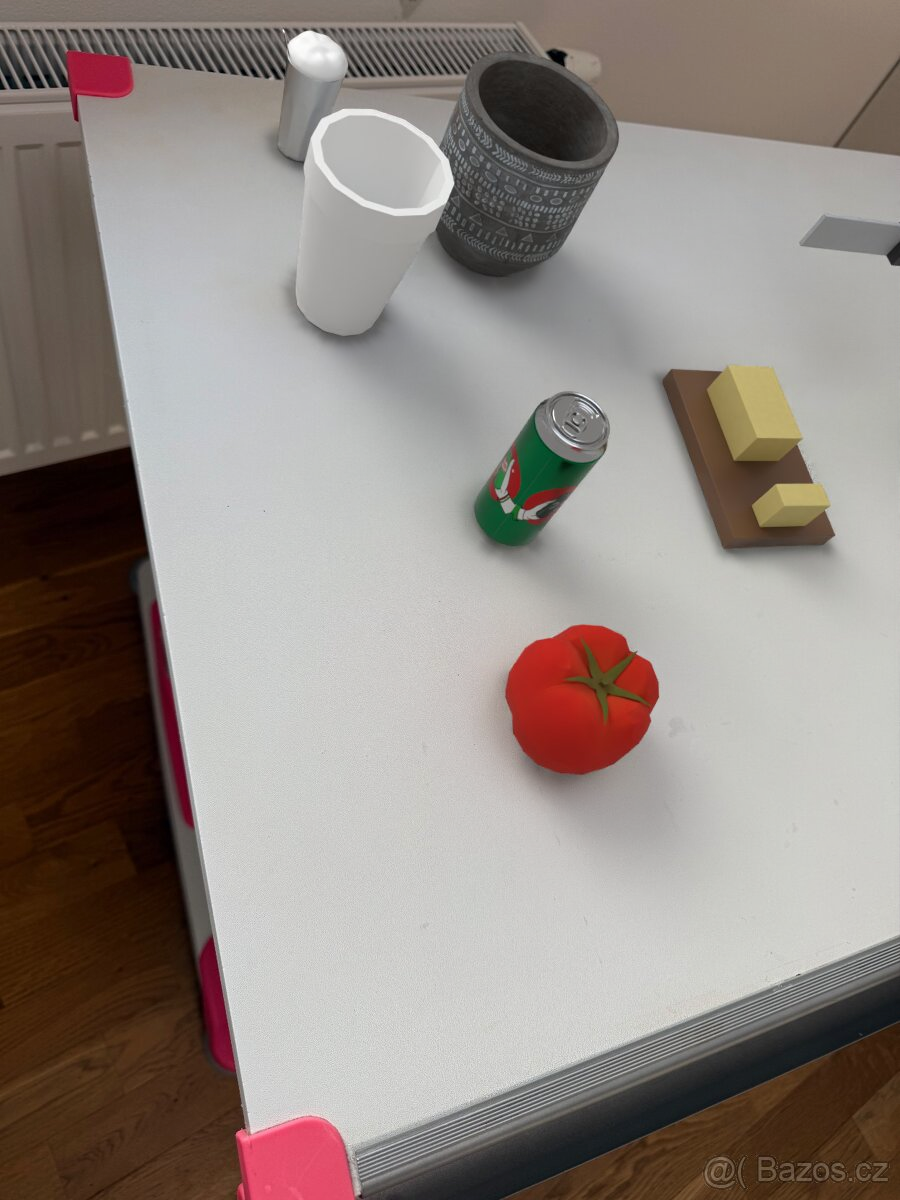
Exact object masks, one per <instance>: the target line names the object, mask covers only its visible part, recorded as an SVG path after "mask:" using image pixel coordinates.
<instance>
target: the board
mask: <svg viewBox="0 0 900 1200" xmlns="http://www.w3.org/2000/svg"><path fill="white" fill-rule="evenodd" d="M722 372H723V370H722V371H721V370H699V369H684V368H683V369H681V368H679V369H678V368H670V370H669V371H668V372H667V374H666V375H664V377H663V378H662V381H661V382H662V384H663V387H664V389H665V392H666V395H667V398H668V400H669V403H670V405H671V408H672V411H673V414H674V416H675V419H676V422H677V424H678V427H679V431H680V433H681V437H682V439H683V441H684V444H685V446H686V449H687V452H688V455H689V457H690V461H691V463H692V466H693V469H694V471H695V474H696V477H697V479H698V483H699V484H700V488H701V490H702V493H703V496H704V498H705V501H706V504H707V506H708V510H709V512H710V515H711V518H712V521H713V523H714V526H715V528H716V532H717V533H718V537H719V540H720V542H721V545H722V548H723V549H738V548H740V549H741V548H761V547H762V548H763V547H765V548H766V547H787V546H788V547H789V546H812V545H813V546H815V545H816V546H817V545H825V544H826V543H827V542H828V541H830V540H831V539H833V538H834V537H835V536H836V533H835V531H834V529H833V526H832V524H831V522H830V519H829V517H828V514H827V511H826V510H825V511H823V512H822V513H821V514H820V515H818V516H817V517H816V518H814V519H813V520H812V521H811V522H809V523H808V524H807V525H806V526H789V527H760V526H759V524H758V521H757V518H756V516H755V513H754V511H753V508H752V505H753V504H754V503H755V502H756V501H757V500H758V499H760V498H761V497H762V496H763V495H764V494H765V493H766V492H768V491H769V490H770V489H771V488H772V487H773V486H774V485H775V484H815V483H814V481H813V478H812V476H811V474H810V473H811V472H810V471H809V468H808V466H807V464H806V462H805V459H804V457H803V455H802V452H801V450H800V447H799V445H798V444H796V445H795V446H794V447H793V448H792V449H791V450H790V451H789V452H788V453H787V454H786V455H784V456H783V457H782V458H781V459H780V460H779V461H734V459H733V457H732V454H731V452H730V449H729V446H728V444H727V441H726V439H725V436H724V434H723V431H722V428H721V426H720V423H719V421H718V418H717V415H716V413H715V410H714V408H713V405H712V402H711V400H710V397H709V395H708V392H707V388H708V387H709V386H710V385H711V384H712V383H713V382H714V381H715V379H716V378H717V377H718V376H719V375H720V374H721V373H722Z"/></svg>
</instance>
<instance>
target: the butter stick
mask: <svg viewBox="0 0 900 1200" xmlns="http://www.w3.org/2000/svg"><path fill="white" fill-rule="evenodd" d="M722 371H723V372H722V373H721V374H720V375H719V376H718V377H717V378H716V379H715V381H714V382H713V383H712V384H711V385H710V386H709V387H708V388H707V392H708V395H709V397H710V400H711V402H712V405H713V408H714V410H715V413H716V415H717V418H718V421H719V423H720V426H721V428H722V431H723V434H724V436H725V439H726V441H727V444H728V446H729V449H730V452H731V454H732V457H733V459H734V461H779V460H780V459H781V458H782V457H783V456H784V455H786V454H787V453H788V452H789V451H790V450H791V449H792V448H793V447H794V446H795V445H796V444H797V445H798V444H799V443H800V442H802V440H803V439H804V438H803V435H802V433H801V431H800V428H799V425H798V423H797V420H796V418H795V416H794V414H793V412H792V410H791V407H790V405H789V402H788V399H787V397H786V395H785V393H784V391H783V388H782V386H781V384H780V381H779V379H778V376H777V373H776V372H775V369H774V367H773V366H758V365H757V366H756V365H738V364H737V365H734V364H728V365H727V366H726V367H725V368H724V369H723V370H722Z"/></svg>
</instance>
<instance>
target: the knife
mask: <svg viewBox="0 0 900 1200" xmlns="http://www.w3.org/2000/svg"><path fill="white" fill-rule="evenodd" d="M798 244H799V246H800V247H805V248H813V249H821V250H831V251H840V252H848V253H849V252H850V253H859V254H868V255H876V256H884V257H886V258H887V260H888V262H889V264H890V265H891V266H892V267H893V266H894V267H900V221H899V222H896V221H891V220H882V219H873V218H868V217H867V218H866V217H858V216H852V215H843V214H836V213H828V212H824V213H823V214H822V215H821V216H820V218H819V219H818V220H817V221H816V222H815V223H814V225H812V227H811V228H810V229H809V230H808V232H807V233H806V234H805V235H804V236H803V237H802V239H801V240H800V241H799V242H798Z"/></svg>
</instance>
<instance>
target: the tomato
mask: <svg viewBox="0 0 900 1200" xmlns="http://www.w3.org/2000/svg"><path fill="white" fill-rule="evenodd" d="M637 653H638V650H636V651H632V650H630V647H629V644H628V640H627V638H626V637H625V636H624V635H623V634H621V633H619V632H618V631H615V630H613V629H611V628H608V627H606V626H604V625H597V624H583V623H581V624H576V625H570V626H569V627H567V628H566V629H564V630H562V631H561V632H560V633H557V634H556V635H555V636H552V637H546V638H542V639H536V640H534V641H533V642H532V643H530V644H529V645H527V646H526V647H525V648H523V650H522V652H521V653H520V654H519V656H518V658H517V659H516V661H515V662H514V664H513V665H512V667H511V668H510V670H509V672H508V675H507V680H506V685H505V689H504V698H505V700H506V703H507V705H508V708H509V711H510V714H511V721H512V734H513V736H514V738H515V740H516V741H517V743H518V745H519V747H520V748H521V750H522V752H523V753H524V754H525V755H526V756H527V757H529V758H530V759H531V760H532V761H533V762H534V763H535V764H536V765H537V766H539V767H542V768H545V769H546V770H549V771H552V772H554V773H556V774H557V773H558V774H562V775H563V774H564V775H578V776H585V775H586V774H591V773H593V772H594V773H595V772H597V771H600V770H603V769H605V768H608V767H610V766H613V765H615V764H616V763H617V762H618V761H620V760H621V759H623V758H624V757H625V756H626V755H627V754H629V753H630V752H631V751H632V750H633V749H635V748H636V747H637V746H638V745H639V744H640V743H641V741H642V740H643V738H644V736H645V735H646V734H647V732H648V730H649V728H650V726H651V722H652V718H651V714H652V713H653V711H654V708H655V706H656V705H657V703H658V701H659V699H660V684H659V683H660V682H659V679H658V677H657V674H656V672H655V669H654V666H653V664H652V662H651V661H650V660H648V659H647V658H644V657H643V656H641V655H639V654H637Z"/></svg>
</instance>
